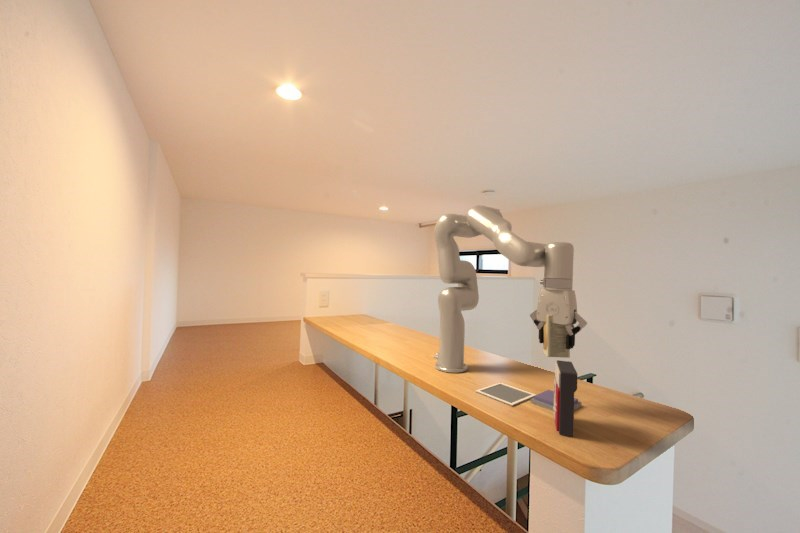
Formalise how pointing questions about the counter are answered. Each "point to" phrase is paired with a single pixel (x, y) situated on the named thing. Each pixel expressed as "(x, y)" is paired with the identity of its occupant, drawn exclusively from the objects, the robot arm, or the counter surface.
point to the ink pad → (549, 400)
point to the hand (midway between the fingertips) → (555, 345)
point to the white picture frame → (506, 394)
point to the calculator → (564, 397)
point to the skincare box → (554, 339)
